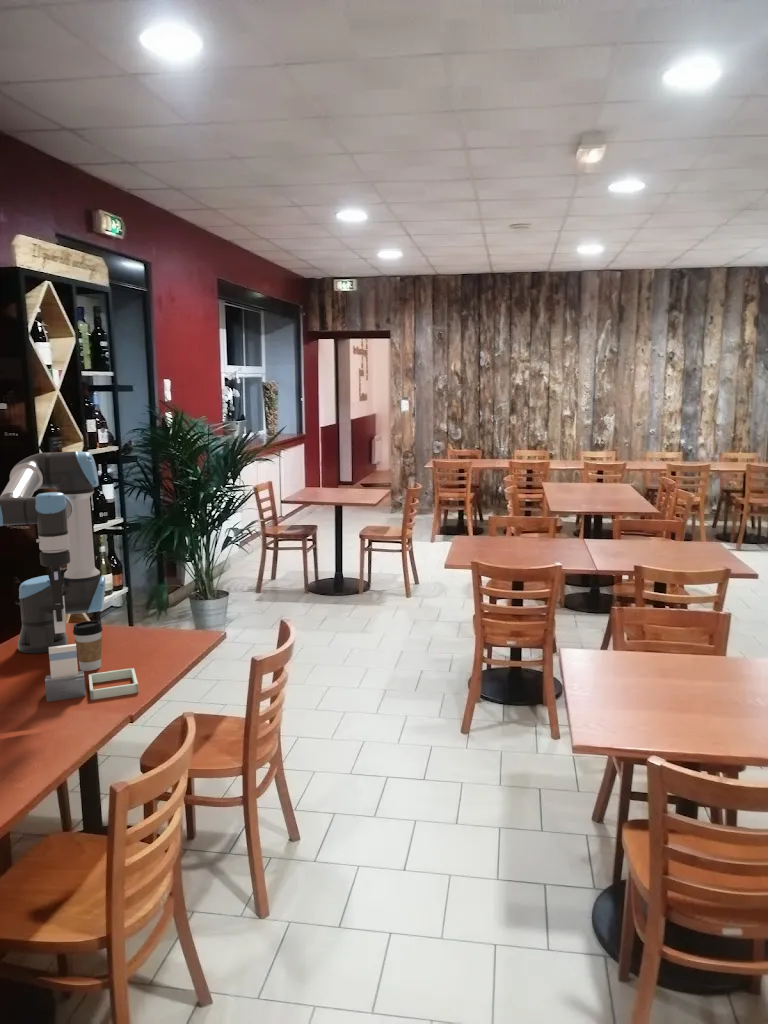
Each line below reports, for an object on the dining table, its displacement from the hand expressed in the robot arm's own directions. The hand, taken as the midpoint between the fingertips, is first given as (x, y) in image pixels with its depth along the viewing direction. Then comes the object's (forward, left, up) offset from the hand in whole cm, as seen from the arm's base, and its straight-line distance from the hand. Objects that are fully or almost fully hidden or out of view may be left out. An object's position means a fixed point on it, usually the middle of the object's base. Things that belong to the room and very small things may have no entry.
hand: (60, 625), depth 214 cm
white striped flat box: (0, 0, -20) cm, 20 cm away
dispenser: (0, 0, -21) cm, 21 cm away
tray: (0, +13, -21) cm, 24 cm away
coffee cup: (-20, +7, -21) cm, 30 cm away
